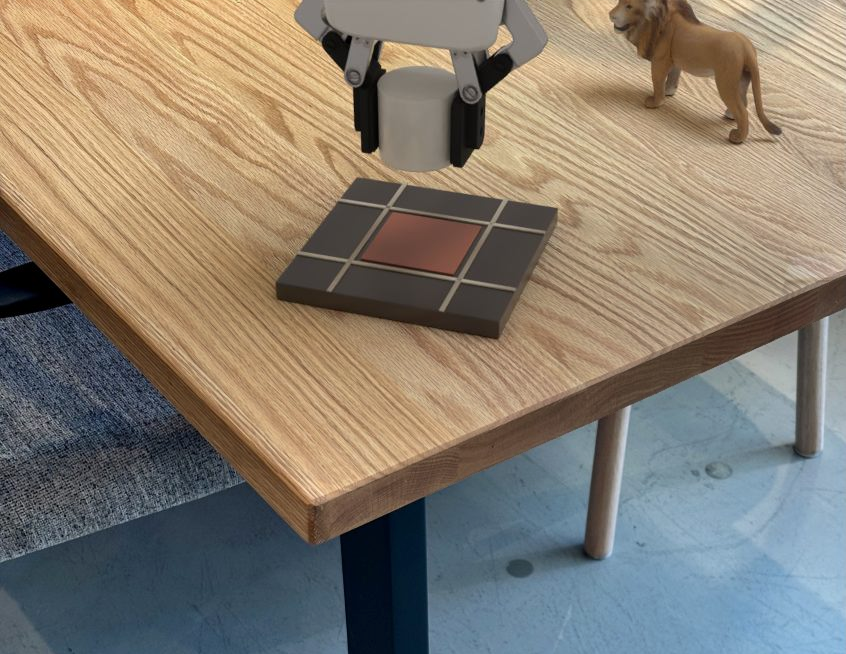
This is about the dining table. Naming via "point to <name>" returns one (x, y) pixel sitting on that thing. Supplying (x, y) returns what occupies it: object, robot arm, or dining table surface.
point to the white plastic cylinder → (415, 117)
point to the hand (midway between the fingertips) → (419, 147)
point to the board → (421, 256)
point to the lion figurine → (692, 56)
